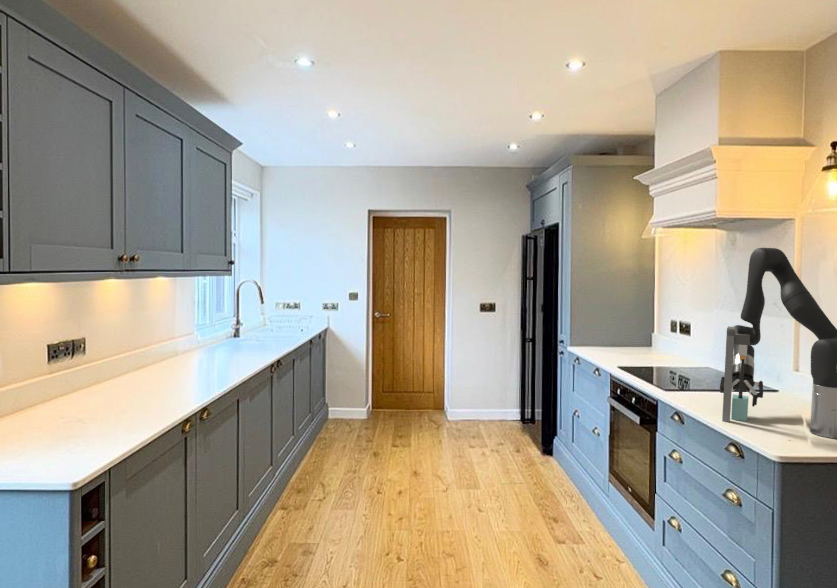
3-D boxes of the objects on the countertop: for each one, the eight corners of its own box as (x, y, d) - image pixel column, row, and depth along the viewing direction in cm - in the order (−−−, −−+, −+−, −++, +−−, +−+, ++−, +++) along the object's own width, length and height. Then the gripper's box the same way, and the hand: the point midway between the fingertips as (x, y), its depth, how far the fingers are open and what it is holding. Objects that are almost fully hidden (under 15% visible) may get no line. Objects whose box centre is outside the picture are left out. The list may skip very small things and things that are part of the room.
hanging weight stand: (723, 419, 212) (728, 326, 210) (745, 422, 209) (750, 327, 206) (722, 424, 206) (726, 328, 204) (744, 427, 202) (750, 330, 200)
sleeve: (732, 415, 214) (733, 394, 213) (747, 417, 211) (748, 396, 211) (731, 419, 208) (732, 397, 208) (746, 421, 206) (748, 399, 205)
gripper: (722, 360, 221) (718, 395, 212) (764, 364, 213) (762, 400, 204) (722, 371, 225) (718, 406, 216) (763, 376, 218) (762, 412, 209)
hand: (740, 403), depth 210 cm, fingers open, 8 cm apart
